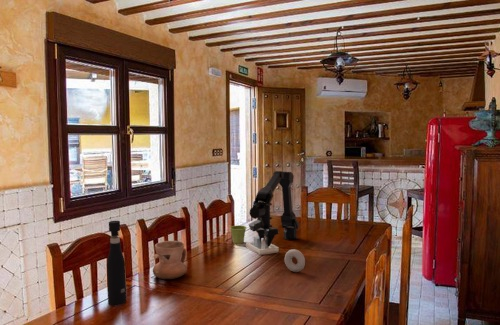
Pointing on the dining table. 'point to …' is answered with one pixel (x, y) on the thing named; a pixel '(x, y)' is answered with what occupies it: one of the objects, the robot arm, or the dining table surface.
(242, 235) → the plant pot
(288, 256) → the donut
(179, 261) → the ceramic jug
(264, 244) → the metal cylinder
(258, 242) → the painted block
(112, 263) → the black water bottle
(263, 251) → the parts tray
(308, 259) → the dining table surface
